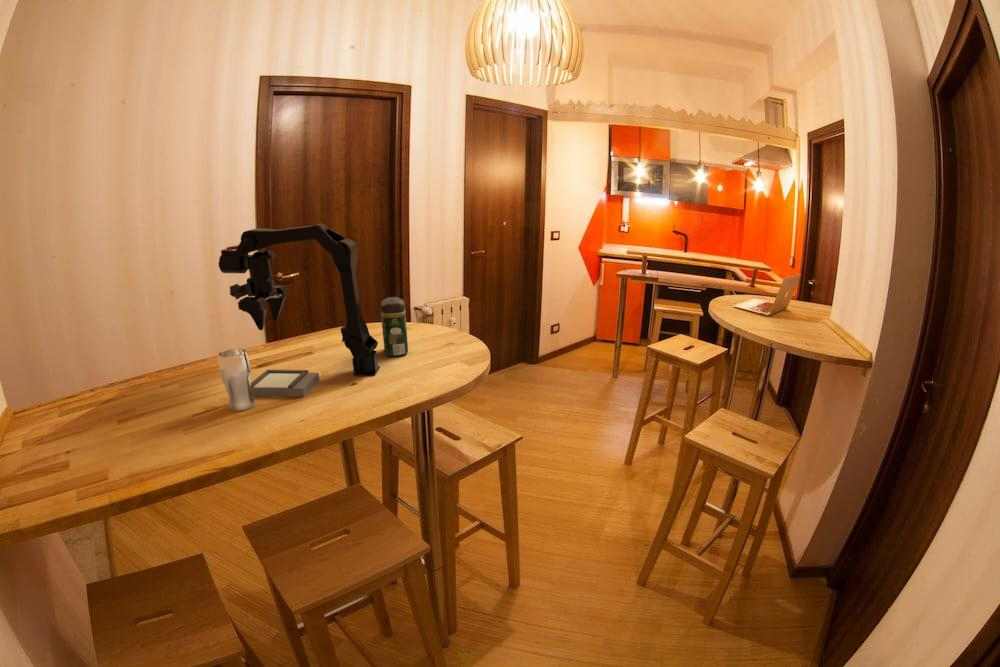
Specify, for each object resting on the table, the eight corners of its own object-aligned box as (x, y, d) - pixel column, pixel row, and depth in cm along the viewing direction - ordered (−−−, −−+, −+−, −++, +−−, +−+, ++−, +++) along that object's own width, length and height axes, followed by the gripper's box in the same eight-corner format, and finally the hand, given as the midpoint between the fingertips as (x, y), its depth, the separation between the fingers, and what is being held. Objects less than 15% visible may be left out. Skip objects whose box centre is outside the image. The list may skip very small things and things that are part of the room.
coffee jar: (384, 348, 173) (379, 296, 167) (407, 346, 175) (403, 294, 169) (384, 358, 164) (379, 303, 158) (409, 356, 166) (405, 301, 160)
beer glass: (261, 400, 135) (252, 347, 130) (249, 412, 128) (239, 357, 124) (234, 400, 135) (224, 348, 130) (222, 412, 128) (211, 357, 123)
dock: (319, 380, 147) (318, 370, 146) (304, 396, 137) (302, 385, 136) (269, 380, 148) (267, 369, 147) (250, 396, 137) (248, 385, 136)
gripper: (249, 267, 154) (257, 316, 159) (214, 280, 136) (224, 334, 141) (285, 267, 153) (292, 316, 158) (255, 280, 136) (263, 335, 141)
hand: (268, 325), depth 150 cm, fingers open, 9 cm apart
